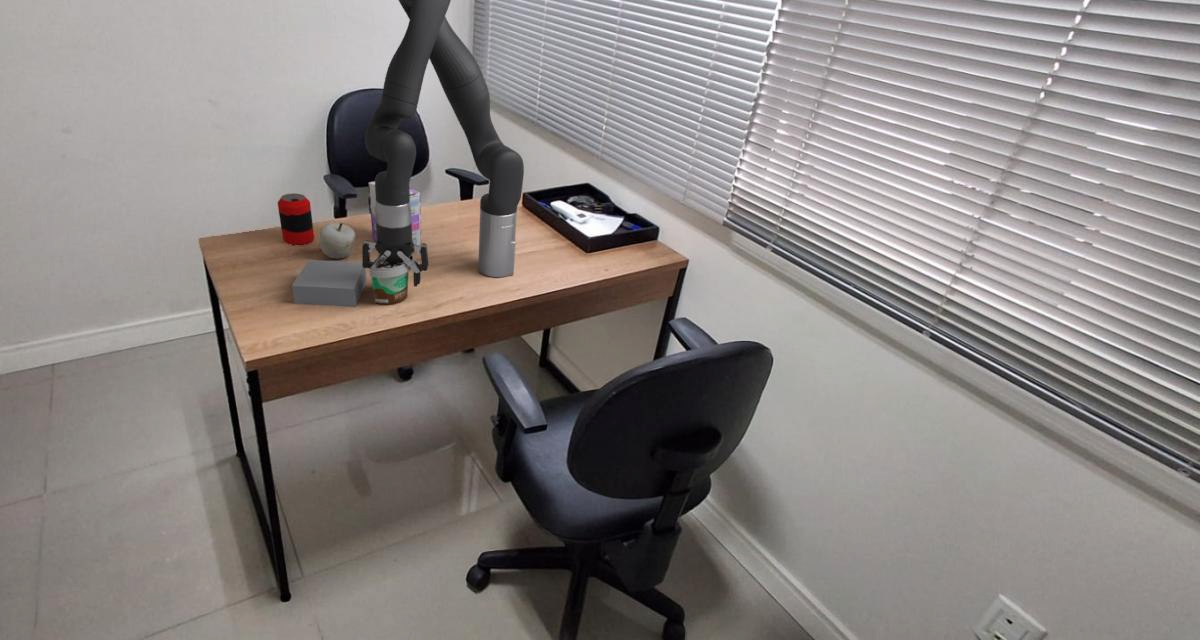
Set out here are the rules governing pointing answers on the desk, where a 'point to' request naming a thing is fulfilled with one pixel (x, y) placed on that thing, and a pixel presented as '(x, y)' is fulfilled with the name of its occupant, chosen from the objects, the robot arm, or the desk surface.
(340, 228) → the decorative object
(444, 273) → the desk surface
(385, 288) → the food container
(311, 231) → the soda can
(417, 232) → the candy box
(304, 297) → the grey block
